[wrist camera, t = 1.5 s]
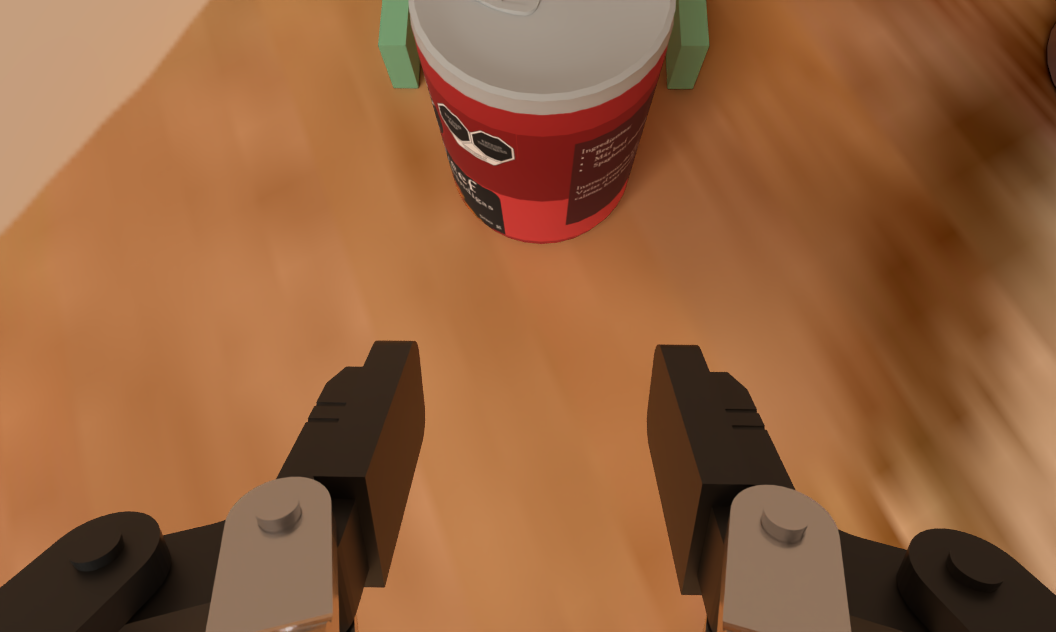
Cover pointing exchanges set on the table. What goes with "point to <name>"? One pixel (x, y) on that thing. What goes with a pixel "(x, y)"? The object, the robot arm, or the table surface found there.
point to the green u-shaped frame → (680, 56)
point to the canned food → (541, 103)
